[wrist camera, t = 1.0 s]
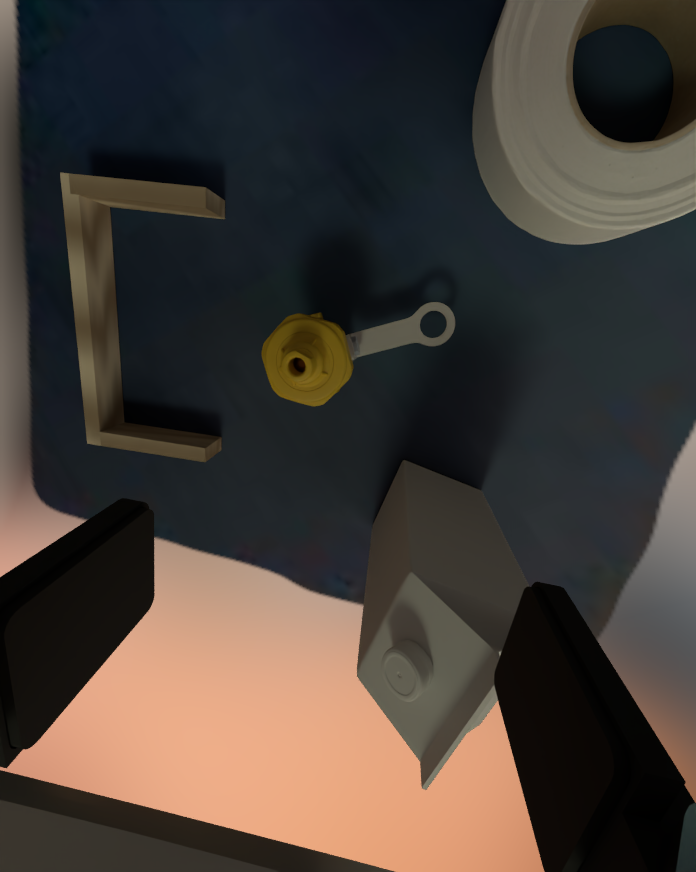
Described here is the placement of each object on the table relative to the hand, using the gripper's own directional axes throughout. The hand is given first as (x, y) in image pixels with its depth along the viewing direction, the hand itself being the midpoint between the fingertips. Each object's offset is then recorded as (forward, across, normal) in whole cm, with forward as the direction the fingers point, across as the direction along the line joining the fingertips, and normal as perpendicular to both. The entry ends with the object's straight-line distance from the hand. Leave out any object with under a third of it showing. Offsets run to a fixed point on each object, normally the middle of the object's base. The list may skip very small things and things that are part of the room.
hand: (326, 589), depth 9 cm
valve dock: (+22, +17, -3) cm, 29 cm away
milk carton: (+23, -6, +8) cm, 25 cm away
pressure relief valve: (+23, +1, -5) cm, 23 cm away
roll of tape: (+23, -11, -21) cm, 33 cm away
